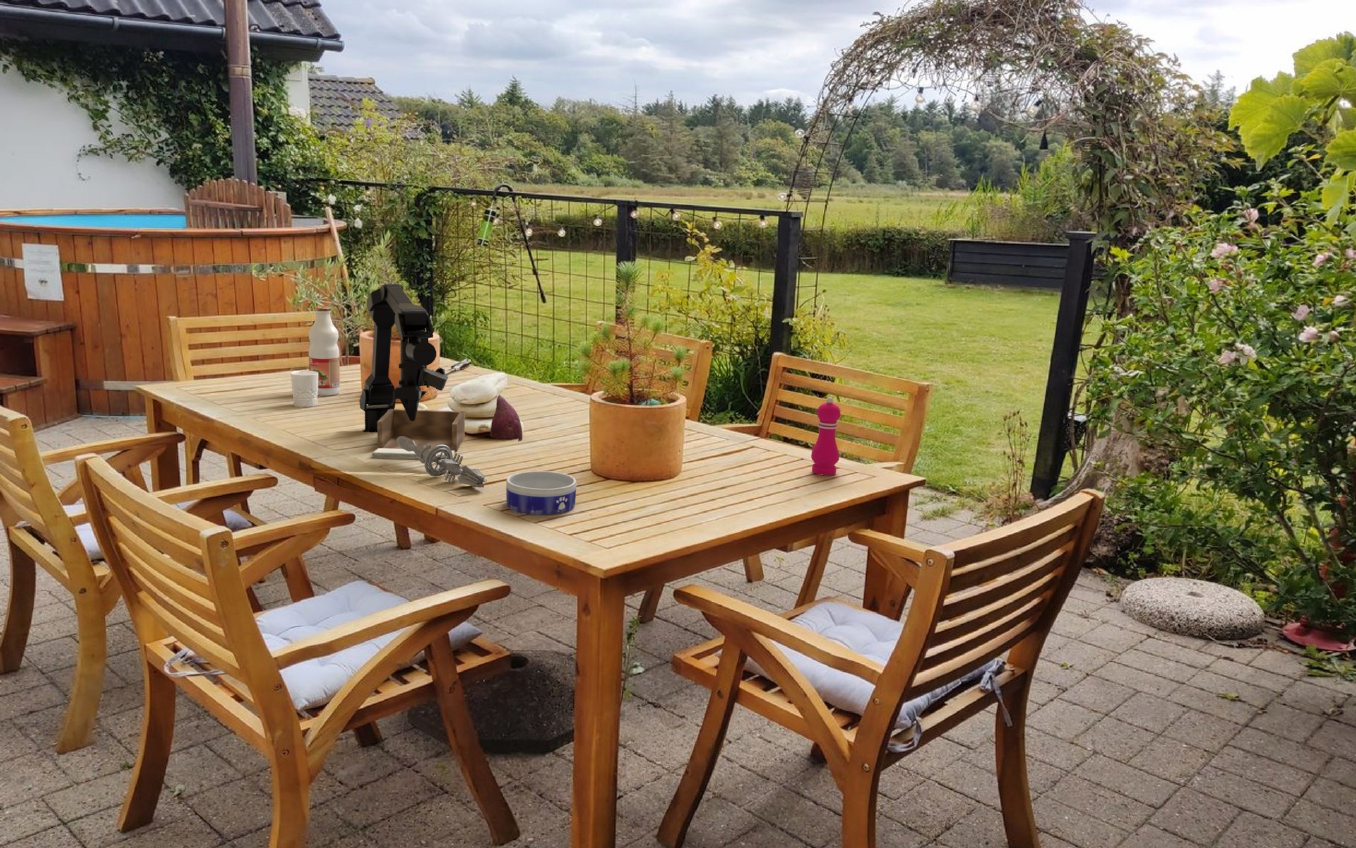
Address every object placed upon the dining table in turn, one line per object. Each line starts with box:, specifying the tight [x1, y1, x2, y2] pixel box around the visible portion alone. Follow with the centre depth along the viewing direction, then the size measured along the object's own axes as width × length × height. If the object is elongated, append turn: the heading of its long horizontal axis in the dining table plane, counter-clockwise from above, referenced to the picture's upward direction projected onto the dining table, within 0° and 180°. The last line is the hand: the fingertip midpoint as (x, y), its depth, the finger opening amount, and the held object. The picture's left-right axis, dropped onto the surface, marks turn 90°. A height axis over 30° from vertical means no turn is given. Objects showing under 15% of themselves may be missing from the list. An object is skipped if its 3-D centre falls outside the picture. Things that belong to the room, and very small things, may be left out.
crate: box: [376, 408, 466, 453], centre depth 272 cm, size 20×16×8 cm
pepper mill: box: [810, 396, 842, 476], centre depth 265 cm, size 7×7×20 cm
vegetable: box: [489, 394, 523, 442], centre depth 285 cm, size 10×9×14 cm
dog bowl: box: [505, 470, 577, 516], centre depth 227 cm, size 15×15×6 cm
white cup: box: [290, 370, 319, 408], centre depth 314 cm, size 8×8×10 cm
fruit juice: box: [308, 305, 341, 397], centre depth 331 cm, size 9×9×28 cm
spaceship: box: [396, 436, 487, 489], centre depth 245 cm, size 8×35×8 cm
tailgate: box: [371, 447, 456, 460], centre depth 261 cm, size 19×1×8 cm
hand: (412, 420), depth 257 cm, fingers closed
